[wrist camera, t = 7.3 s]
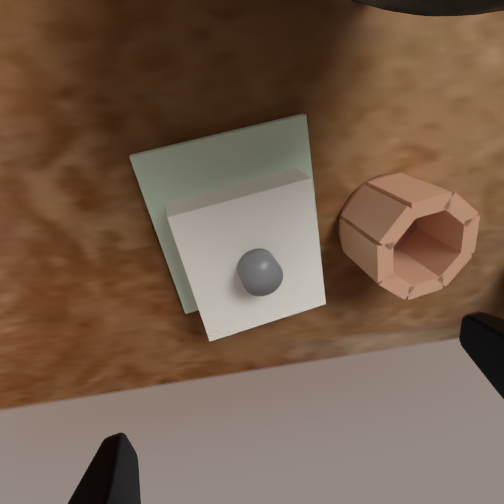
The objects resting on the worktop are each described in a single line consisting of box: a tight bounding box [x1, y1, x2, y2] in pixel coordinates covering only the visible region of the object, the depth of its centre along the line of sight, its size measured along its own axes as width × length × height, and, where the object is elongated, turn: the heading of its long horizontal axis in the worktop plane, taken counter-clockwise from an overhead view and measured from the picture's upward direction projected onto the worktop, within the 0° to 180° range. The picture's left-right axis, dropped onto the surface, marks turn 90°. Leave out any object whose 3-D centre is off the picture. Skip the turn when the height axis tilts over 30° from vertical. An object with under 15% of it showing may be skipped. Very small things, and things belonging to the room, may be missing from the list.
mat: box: [129, 114, 323, 314], centre depth 15 cm, size 7×8×1 cm
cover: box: [166, 168, 326, 341], centre depth 14 cm, size 6×6×3 cm
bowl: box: [338, 173, 480, 300], centre depth 16 cm, size 5×5×4 cm
